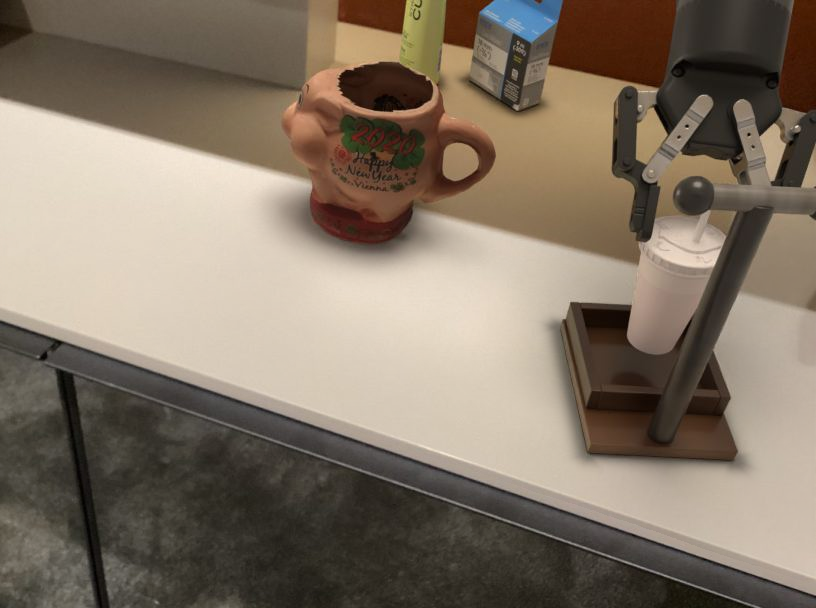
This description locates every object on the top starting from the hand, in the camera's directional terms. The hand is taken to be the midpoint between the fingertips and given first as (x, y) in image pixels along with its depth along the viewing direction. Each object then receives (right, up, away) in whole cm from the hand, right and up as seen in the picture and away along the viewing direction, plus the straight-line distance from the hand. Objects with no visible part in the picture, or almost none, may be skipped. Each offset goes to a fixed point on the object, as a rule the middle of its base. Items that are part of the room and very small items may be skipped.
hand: (691, 246), depth 68 cm
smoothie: (0, -6, +9) cm, 11 cm away
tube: (-14, +26, +46) cm, 55 cm away
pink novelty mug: (-20, +6, +26) cm, 33 cm away
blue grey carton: (-4, +24, +45) cm, 51 cm away
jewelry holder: (0, -10, +10) cm, 14 cm away
